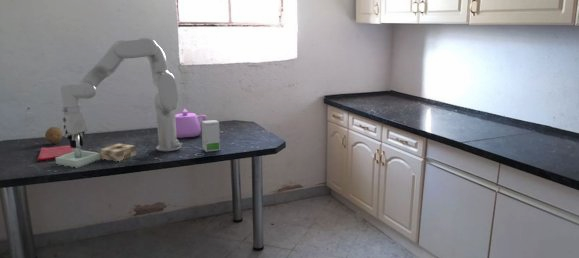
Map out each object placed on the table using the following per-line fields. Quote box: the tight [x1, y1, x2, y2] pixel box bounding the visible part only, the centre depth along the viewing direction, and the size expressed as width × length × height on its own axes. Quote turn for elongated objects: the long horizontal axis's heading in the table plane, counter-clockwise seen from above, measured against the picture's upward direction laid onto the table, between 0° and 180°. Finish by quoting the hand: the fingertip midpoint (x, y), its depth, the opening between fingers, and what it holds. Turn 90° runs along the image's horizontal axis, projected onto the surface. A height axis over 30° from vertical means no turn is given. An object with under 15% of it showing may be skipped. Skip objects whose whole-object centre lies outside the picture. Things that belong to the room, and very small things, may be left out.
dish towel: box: [36, 144, 74, 162], centre depth 228 cm, size 17×24×3 cm
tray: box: [55, 149, 101, 169], centre depth 214 cm, size 14×14×4 cm
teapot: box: [175, 108, 208, 139], centre depth 264 cm, size 23×21×15 cm
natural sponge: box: [44, 126, 63, 145], centre depth 245 cm, size 9×9×10 cm
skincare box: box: [200, 119, 221, 153], centre depth 232 cm, size 8×7×16 cm
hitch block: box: [99, 143, 137, 162], centre depth 221 cm, size 12×12×5 cm
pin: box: [73, 133, 82, 158], centre depth 212 cm, size 4×4×13 cm
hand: (76, 146), depth 212 cm, fingers closed on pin, 3 cm apart
